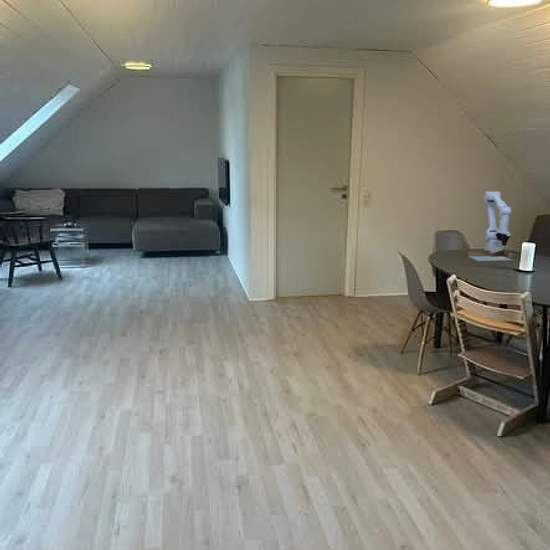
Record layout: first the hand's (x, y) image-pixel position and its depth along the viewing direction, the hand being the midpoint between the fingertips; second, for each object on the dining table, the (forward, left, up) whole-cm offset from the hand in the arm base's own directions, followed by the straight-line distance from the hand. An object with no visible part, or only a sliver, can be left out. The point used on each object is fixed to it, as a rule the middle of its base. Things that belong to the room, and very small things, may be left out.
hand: (501, 244), depth 379 cm
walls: (+2, -8, -9) cm, 12 cm away
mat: (+2, -8, -9) cm, 12 cm away
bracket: (0, -4, -4) cm, 5 cm away
